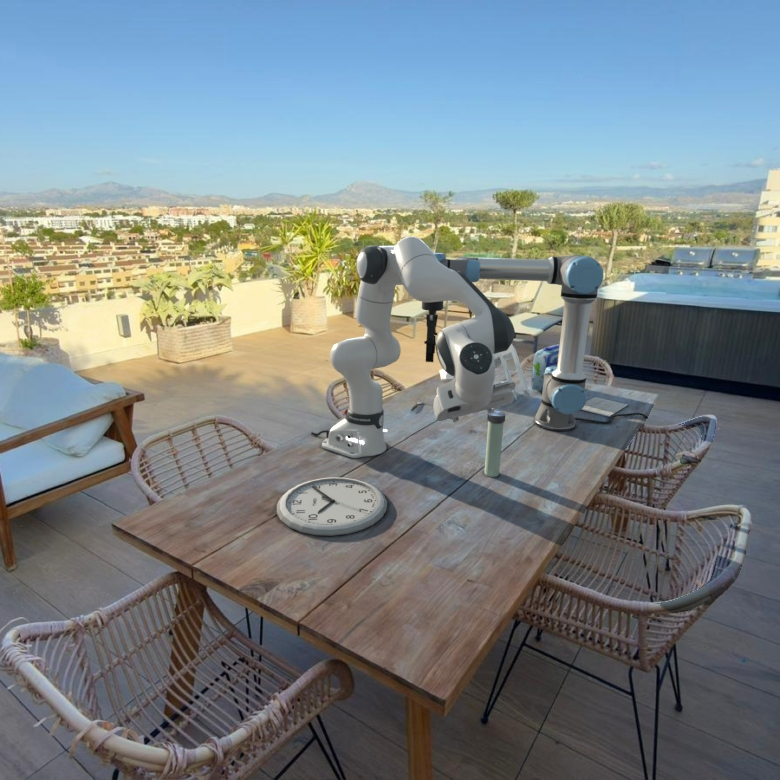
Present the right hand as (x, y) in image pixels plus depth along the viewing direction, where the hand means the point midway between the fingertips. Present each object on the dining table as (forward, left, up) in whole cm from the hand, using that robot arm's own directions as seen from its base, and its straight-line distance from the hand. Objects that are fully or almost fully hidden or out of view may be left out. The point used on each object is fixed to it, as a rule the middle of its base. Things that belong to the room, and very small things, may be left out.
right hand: (430, 357), depth 190 cm
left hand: (-14, +54, -2) cm, 56 cm away
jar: (-22, +34, -28) cm, 49 cm away
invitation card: (-73, -38, -28) cm, 87 cm away
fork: (+6, -25, -28) cm, 38 cm away
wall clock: (+23, +61, -28) cm, 71 cm away
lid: (-22, +34, -8) cm, 42 cm away
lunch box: (-56, -61, -28) cm, 88 cm away
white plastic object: (-22, -50, -28) cm, 61 cm away
